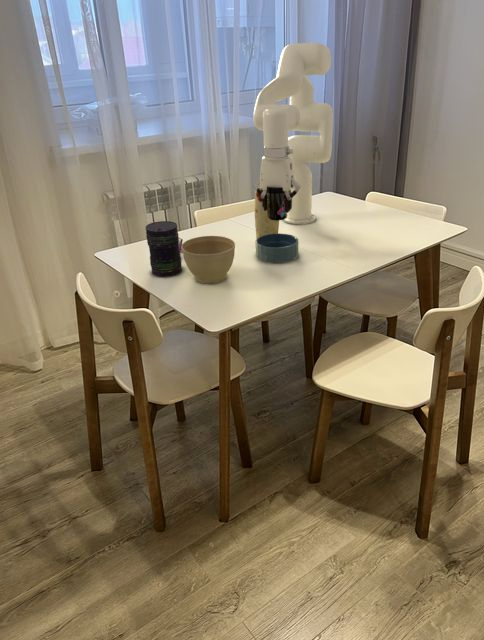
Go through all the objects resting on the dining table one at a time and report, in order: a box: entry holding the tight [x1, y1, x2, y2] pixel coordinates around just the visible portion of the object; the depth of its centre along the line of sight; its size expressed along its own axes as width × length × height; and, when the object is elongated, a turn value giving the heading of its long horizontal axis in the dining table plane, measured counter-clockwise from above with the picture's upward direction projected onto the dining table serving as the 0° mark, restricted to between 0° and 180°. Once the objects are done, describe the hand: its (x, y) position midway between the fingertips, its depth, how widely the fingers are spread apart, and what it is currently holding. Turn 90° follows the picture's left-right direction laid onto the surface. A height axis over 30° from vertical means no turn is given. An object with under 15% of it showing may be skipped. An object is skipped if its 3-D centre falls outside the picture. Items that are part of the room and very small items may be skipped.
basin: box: [255, 232, 299, 264], centre depth 180 cm, size 14×14×6 cm
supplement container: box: [266, 187, 288, 221], centre depth 171 cm, size 7×7×10 cm
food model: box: [254, 186, 280, 240], centre depth 189 cm, size 10×7×20 cm
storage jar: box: [145, 220, 183, 278], centre depth 169 cm, size 10×10×15 cm
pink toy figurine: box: [178, 236, 183, 254], centre depth 185 cm, size 7×5×9 cm
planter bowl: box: [181, 235, 236, 284], centre depth 164 cm, size 16×16×11 cm
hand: (277, 210), depth 173 cm, fingers closed on supplement container, 6 cm apart
